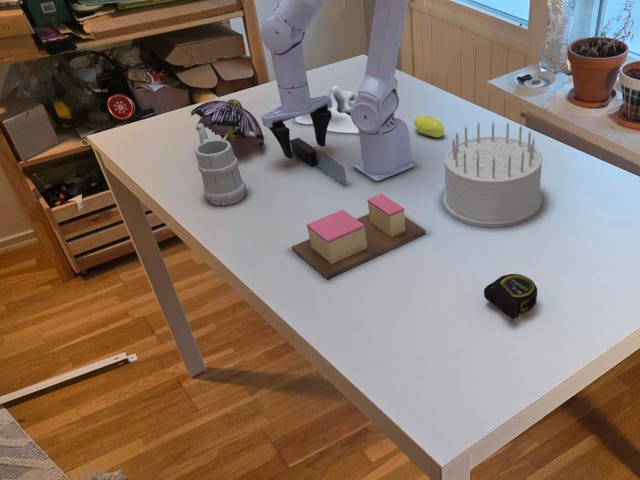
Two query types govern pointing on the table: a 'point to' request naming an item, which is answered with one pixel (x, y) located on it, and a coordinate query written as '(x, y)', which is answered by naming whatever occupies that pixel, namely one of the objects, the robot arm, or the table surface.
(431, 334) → the table surface
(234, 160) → the mug
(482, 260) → the table surface
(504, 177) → the cake
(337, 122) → the cloth
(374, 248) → the board
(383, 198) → the cake slice
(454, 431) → the table surface
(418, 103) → the table surface
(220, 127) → the decorative flower
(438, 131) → the lemon
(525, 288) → the tape measure
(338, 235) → the cake
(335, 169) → the knife
